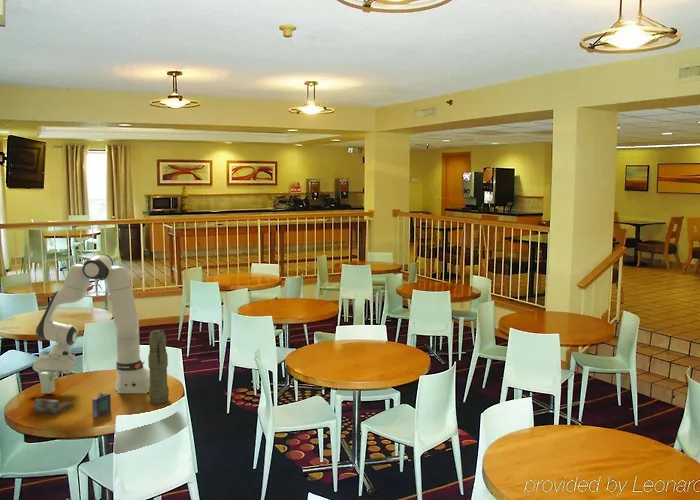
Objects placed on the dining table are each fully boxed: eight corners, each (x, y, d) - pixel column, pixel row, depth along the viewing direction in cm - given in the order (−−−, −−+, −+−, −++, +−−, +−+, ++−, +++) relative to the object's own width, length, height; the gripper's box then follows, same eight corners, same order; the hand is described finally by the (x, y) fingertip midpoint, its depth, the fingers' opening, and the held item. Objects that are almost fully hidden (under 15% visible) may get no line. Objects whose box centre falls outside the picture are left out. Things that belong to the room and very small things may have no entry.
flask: (95, 419, 264) (94, 395, 263) (90, 417, 265) (89, 394, 264) (112, 412, 272) (111, 389, 271) (108, 411, 273) (107, 388, 272)
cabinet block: (55, 390, 296) (53, 371, 294) (49, 393, 291) (47, 374, 290) (47, 389, 296) (46, 370, 295) (41, 392, 292) (40, 373, 291)
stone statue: (155, 407, 279) (153, 334, 275) (145, 400, 287) (143, 330, 283) (173, 402, 285) (171, 331, 281) (162, 395, 293) (160, 327, 289)
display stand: (72, 405, 279) (72, 393, 278) (57, 414, 268) (56, 401, 268) (50, 403, 281) (49, 391, 281) (33, 412, 271) (33, 399, 270)
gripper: (37, 350, 301) (24, 375, 292) (73, 353, 297) (61, 378, 288) (44, 356, 305) (31, 381, 297) (79, 359, 301) (67, 383, 293)
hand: (46, 379), depth 293 cm, fingers closed on cabinet block, 4 cm apart
